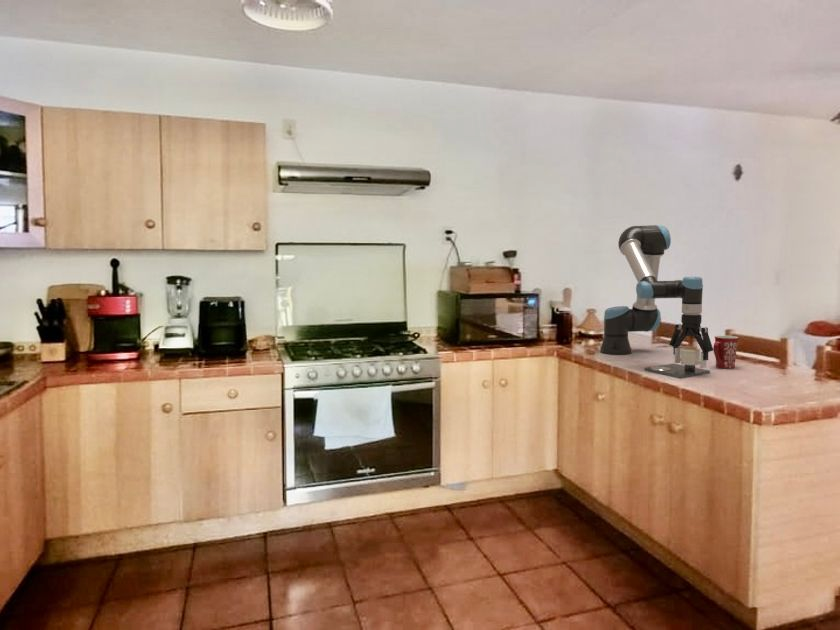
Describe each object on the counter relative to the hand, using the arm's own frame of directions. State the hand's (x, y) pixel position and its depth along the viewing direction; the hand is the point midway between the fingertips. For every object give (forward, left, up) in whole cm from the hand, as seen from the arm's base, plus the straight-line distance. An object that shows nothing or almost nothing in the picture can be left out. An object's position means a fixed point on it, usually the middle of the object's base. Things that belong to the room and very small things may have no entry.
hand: (690, 365), depth 233 cm
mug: (0, +21, -3) cm, 21 cm away
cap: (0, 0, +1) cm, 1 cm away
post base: (-4, -3, -3) cm, 6 cm away
